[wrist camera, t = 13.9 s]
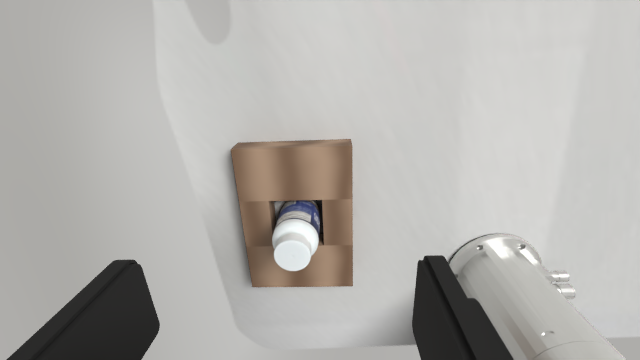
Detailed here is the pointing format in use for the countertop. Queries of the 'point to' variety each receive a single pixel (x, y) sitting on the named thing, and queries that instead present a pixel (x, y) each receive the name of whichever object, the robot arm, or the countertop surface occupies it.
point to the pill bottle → (296, 234)
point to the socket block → (296, 184)
